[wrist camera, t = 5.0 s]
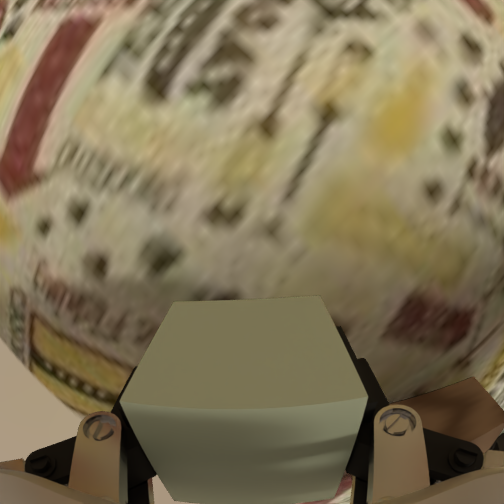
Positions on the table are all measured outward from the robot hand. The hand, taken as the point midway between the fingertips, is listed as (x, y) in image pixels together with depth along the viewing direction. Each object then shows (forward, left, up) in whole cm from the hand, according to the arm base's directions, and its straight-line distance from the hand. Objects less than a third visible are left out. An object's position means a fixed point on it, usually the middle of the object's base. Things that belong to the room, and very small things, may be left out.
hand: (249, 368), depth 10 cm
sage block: (0, 0, -1) cm, 1 cm away
